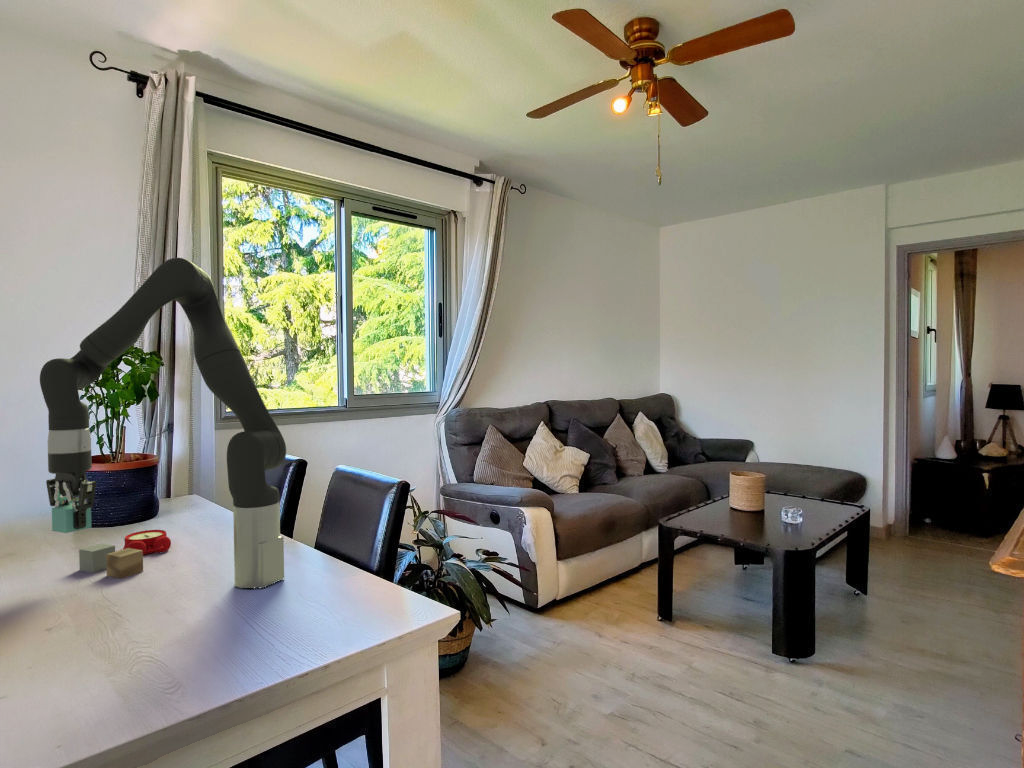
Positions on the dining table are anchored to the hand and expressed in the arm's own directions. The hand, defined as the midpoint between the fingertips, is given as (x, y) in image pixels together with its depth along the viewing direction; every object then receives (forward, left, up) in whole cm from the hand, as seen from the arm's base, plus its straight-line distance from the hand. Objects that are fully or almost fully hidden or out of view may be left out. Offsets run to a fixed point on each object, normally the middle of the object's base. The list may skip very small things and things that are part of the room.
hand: (72, 526), depth 124 cm
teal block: (0, 0, 0) cm, 0 cm away
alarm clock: (+7, -21, -13) cm, 26 cm away
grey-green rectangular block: (+5, -8, -12) cm, 16 cm away
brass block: (-5, -8, -12) cm, 16 cm away
